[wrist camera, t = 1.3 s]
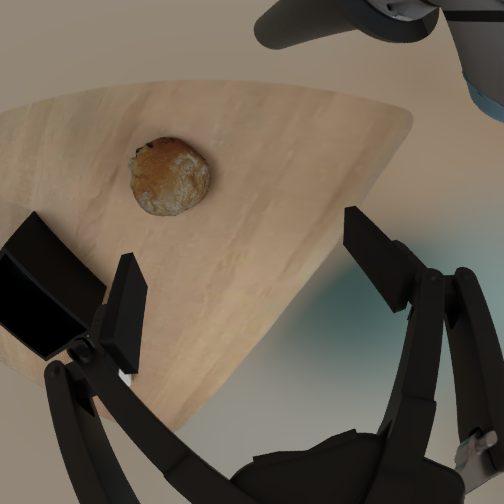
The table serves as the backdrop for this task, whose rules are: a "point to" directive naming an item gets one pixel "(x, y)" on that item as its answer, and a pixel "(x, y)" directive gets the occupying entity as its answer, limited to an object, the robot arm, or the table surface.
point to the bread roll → (168, 177)
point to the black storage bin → (45, 290)
